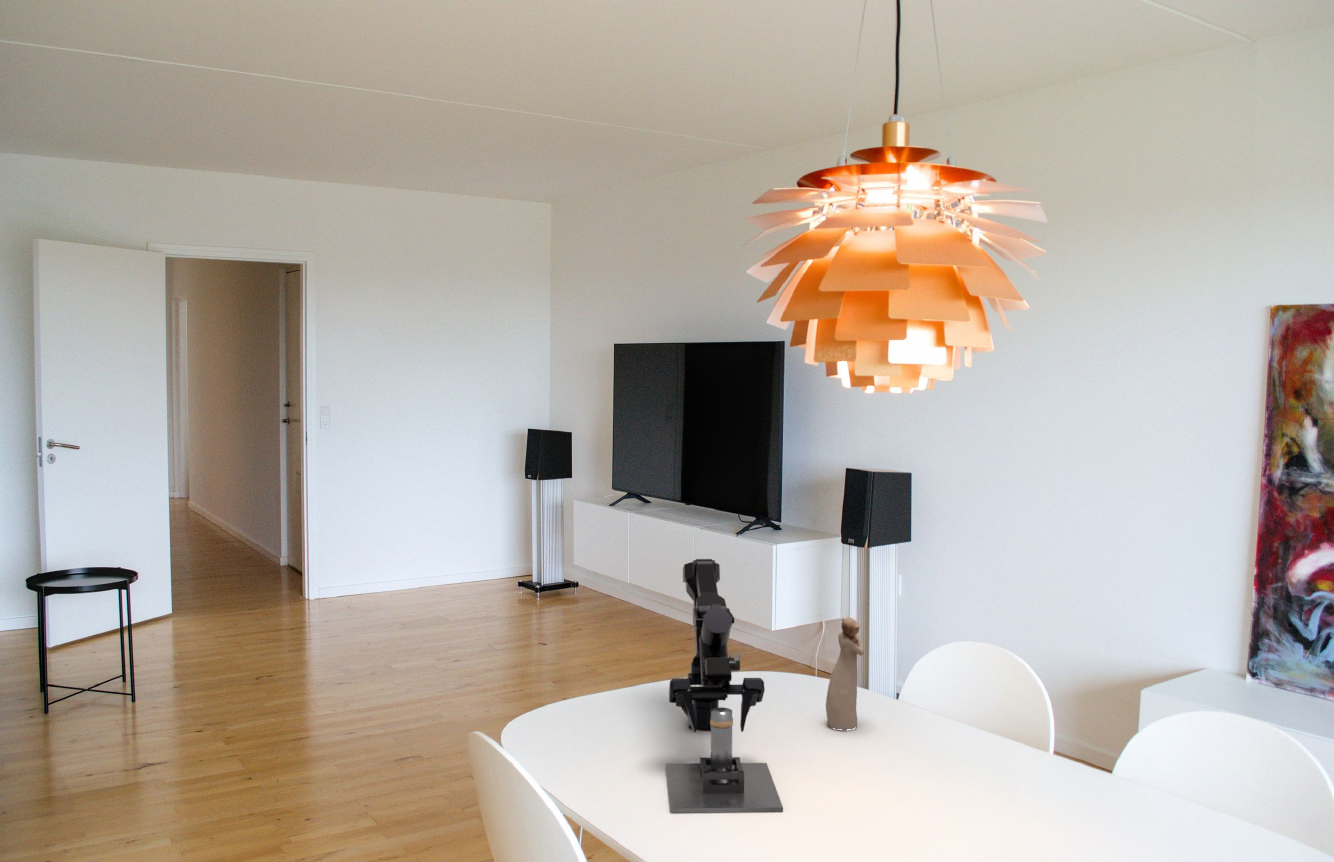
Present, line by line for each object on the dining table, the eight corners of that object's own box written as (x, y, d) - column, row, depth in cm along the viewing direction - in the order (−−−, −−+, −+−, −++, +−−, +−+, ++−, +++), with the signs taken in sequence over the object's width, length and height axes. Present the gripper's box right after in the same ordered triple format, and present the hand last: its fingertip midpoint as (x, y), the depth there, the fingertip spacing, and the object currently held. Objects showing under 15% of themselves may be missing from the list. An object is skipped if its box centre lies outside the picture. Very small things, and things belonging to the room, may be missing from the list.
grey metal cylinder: (720, 777, 185) (720, 705, 184) (737, 784, 182) (737, 710, 181) (705, 784, 182) (705, 711, 181) (722, 791, 179) (722, 716, 178)
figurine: (854, 735, 210) (856, 621, 208) (819, 726, 215) (821, 615, 213) (869, 725, 216) (872, 614, 214) (835, 716, 221) (837, 608, 220)
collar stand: (666, 767, 191) (666, 745, 191) (766, 766, 192) (766, 744, 192) (670, 812, 171) (671, 788, 171) (782, 811, 172) (783, 786, 172)
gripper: (670, 638, 191) (672, 713, 181) (764, 638, 192) (771, 712, 181) (668, 665, 199) (670, 738, 189) (757, 665, 200) (764, 737, 190)
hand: (718, 731), depth 187 cm, fingers open, 9 cm apart
